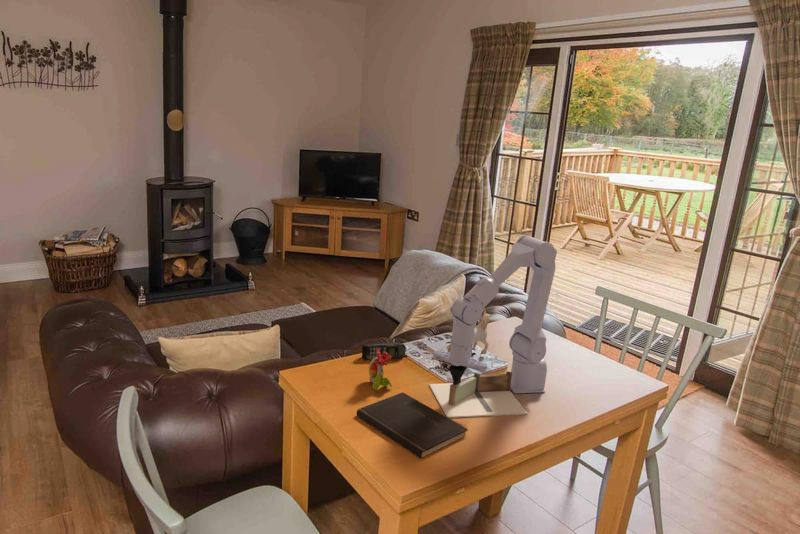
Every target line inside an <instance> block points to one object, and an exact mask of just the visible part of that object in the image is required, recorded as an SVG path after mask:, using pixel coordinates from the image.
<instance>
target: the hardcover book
mask: <svg viewBox="0 0 800 534" xmlns="http://www.w3.org/2000/svg"><path fill="white" fill-rule="evenodd" d="M356 417H357V418H359V419H360V420H362V421H364V422H365V423H366V424H368V425H370V426H371V427H373V428H374V429H376V430H377V431H378V432H380V433H381V434H383V435H384V436H386V437H388V438H389V439H390V440H392V441H394V442H395V443H397V444H398V445H400V446H401V447H402V448H404V449H406V451H409V452H410V453H412V454H413V455H415V456H416V457H418V458H419V459H422V458H423V457H425V456H427V455H430V454H431V453H433V451H434V452H435V451H437V449H438V450H439V449H442V448H443V447H446V446H447V445H450V444H451V443H453V442H455V441H458V440H460V439H461V438H464V437H465V436H466V435H467V434H466V433H467V432H468V431H469V429H468V428H467V427H465V426H463V425H462V424H460V423H459V422H456V421H454V420H452V418H447V417H446V415H445V414H442V413H440V412H439V411H437V410H435V409H433V408H432V407H430V406H427V405H426V404H424V403H422V402H421V401H420V400H418V399H415V398H414V397H412V396H411V395H408V394H407V393H405V392H400V393H396V394H394V395H391V396H389V397H387V398H384V399H382V400H379V401H376V402H374V403H371V404H369V405H366V406H362V407H360V408H358V409H357V410H356ZM441 447H442V448H441Z"/></svg>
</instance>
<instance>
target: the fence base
mask: <svg viewBox="0 0 800 534" xmlns="http://www.w3.org/2000/svg"><path fill="white" fill-rule="evenodd" d="M473 376H474V377H476V387H475V392H478V391H494V390H506V391H510V392H511V388H510V385H511V377H512V373H511V371H506V372H505V373H498V374H497V373H493V374H481V372H474V374H473Z"/></svg>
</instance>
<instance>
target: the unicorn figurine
mask: <svg viewBox="0 0 800 534" xmlns="http://www.w3.org/2000/svg"><path fill="white" fill-rule="evenodd" d="M491 315H492V314H491V313H487V310H486V308H485V307H484V310H483V314H482V319H480V320H479V322H478V324H477V325H475V331H474V338H473V346H472V350H475V351H476V346H477V344H478V343H479V342H481V343H483V345H484V348H483V349H482V350H481V351H480V352H481V353H480V354H485V355H486V353H487V350H488V347H489V346H490V345H489V343H488V341H487V337H488V331H487V326H488V325H489V322H490V318H491ZM447 346H448V347H447V349H446V351H447V352H450V347H451V340H450V344H448V345H447Z"/></svg>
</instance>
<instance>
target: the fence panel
mask: <svg viewBox="0 0 800 534" xmlns="http://www.w3.org/2000/svg"><path fill="white" fill-rule="evenodd" d="M475 387H476V377H474V375H473V376H471V377H469V378H467V379H465V380H464V381H461V382H460V383H459V384H457V385H454V384H451V385H450V393H449V402H448V404H450V405H454V404H455V403H456V402H458V401H460V400H462V399H464V398H465V397H467V396H469V395H471V394H473V393H474V392H475Z"/></svg>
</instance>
